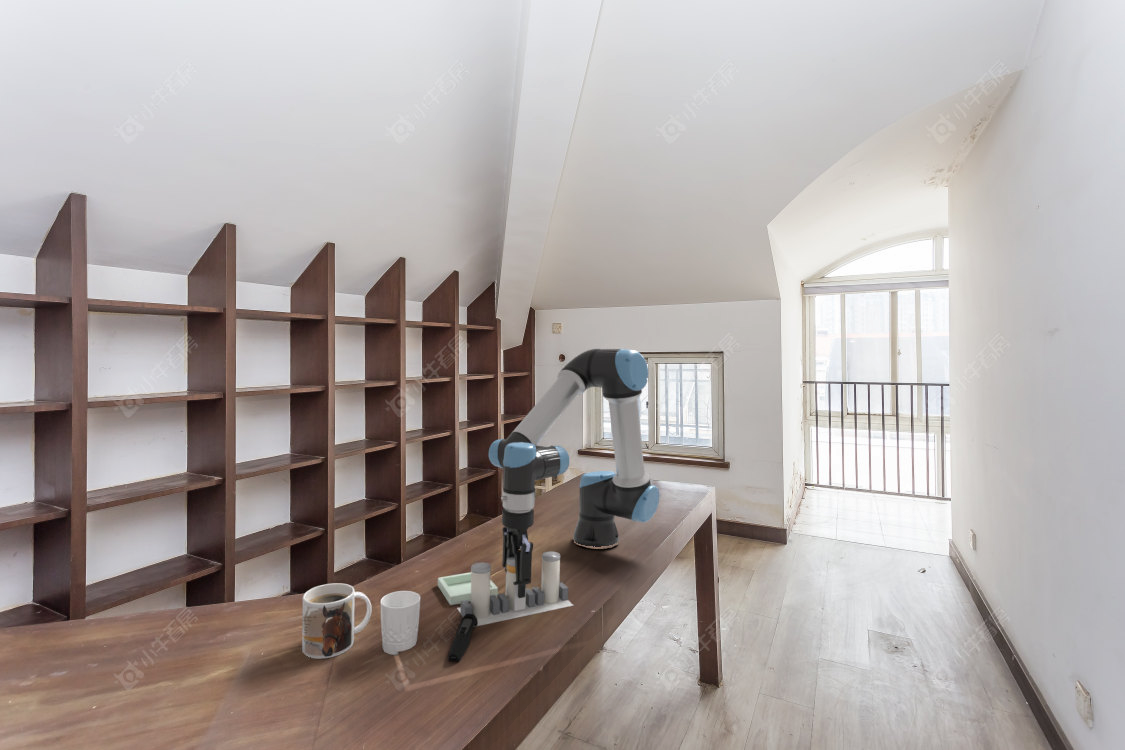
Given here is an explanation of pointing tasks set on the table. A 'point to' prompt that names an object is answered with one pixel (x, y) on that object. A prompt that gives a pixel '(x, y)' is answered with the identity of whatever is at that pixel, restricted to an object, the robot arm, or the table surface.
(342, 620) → the mug
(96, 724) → the table surface
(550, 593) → the cream grey cylinder
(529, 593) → the board
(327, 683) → the table surface
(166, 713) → the table surface
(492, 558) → the table surface
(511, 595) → the marked fuse
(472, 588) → the fuse
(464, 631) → the electric trimmer
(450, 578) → the tray
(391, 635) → the white cup
